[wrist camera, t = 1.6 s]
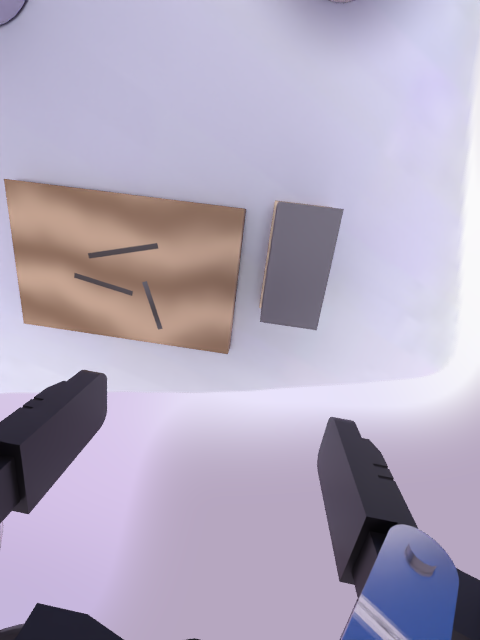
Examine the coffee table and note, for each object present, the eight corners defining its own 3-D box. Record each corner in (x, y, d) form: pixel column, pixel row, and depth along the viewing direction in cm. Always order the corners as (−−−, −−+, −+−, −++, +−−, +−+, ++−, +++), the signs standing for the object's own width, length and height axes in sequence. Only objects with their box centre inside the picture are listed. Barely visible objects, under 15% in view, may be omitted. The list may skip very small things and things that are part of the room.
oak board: (17, 181, 27) (3, 178, 26) (245, 209, 26) (244, 208, 25) (34, 318, 32) (23, 323, 31) (229, 347, 31) (227, 354, 29)
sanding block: (275, 200, 26) (276, 194, 20) (330, 207, 26) (347, 203, 20) (259, 306, 29) (257, 326, 24) (308, 313, 29) (317, 334, 23)
